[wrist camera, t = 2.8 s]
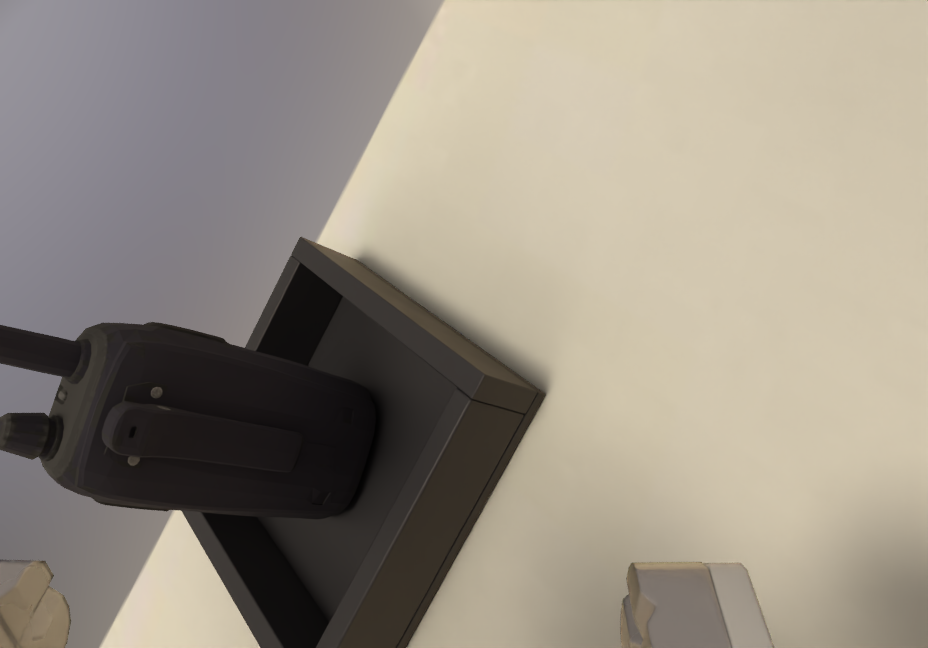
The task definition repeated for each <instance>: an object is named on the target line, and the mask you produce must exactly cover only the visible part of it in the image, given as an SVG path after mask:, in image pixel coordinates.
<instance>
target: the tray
mask: <svg viewBox="0 0 928 648" xmlns="http://www.w3.org/2000/svg"><path fill="white" fill-rule="evenodd" d="M245 348H246V349H250V350H253V351H257V352H261V353H264V354H268V355H272V356H276V357H279V358H283V359H286V360H290V361H293V362H297V363H300V364H303V365H306V366H308V367H311V368H314V369H317V370H320V371H323V372H326V373H329V374H332V375H335V376H339V377H343V378H346V379H349V380H352V381H354V382H356V383H358V384H360V385H362V386H363V387H365V388H366V389H367V390H368V392H369V394H370V397H371V399H372V402H373V403H374V404H375V411H376V424H375V432H374V436H373V440H372V444H371V448H370V451H369V454H368V458H367V461H366V464H365V467H364V470H363V473H362V476H361V479H360V481H359V484H358V487H357V489H356V492H355V494H354V496H353V498H352V500H351V501H350V503H349V505H348V506H347V507H346V508H345V509H344V510H343V511H342V512H341V513H339V514H334V515H332V516H330V517H327V518H324V519H305V518H285V517H253V516H240V515H228V514H217V513H206V512H195V511H183V510H181V511H182V512H183V514H184V516H185V518H186V519H187V521H188V523H189V525H190V526H191V528H192V530H193V531H194V533H195V535H196V537H197V538H198V540H199V542H200V544H201V545H202V547H203V549H204V550H205V552H206V554H207V556H208V557H209V559H210V561H211V563H212V564H213V566H214V568H215V569H216V571H217V573H218V575H219V576H220V578H221V580H222V582H223V583H224V585H225V587H226V588H227V590H228V592H229V594H230V595H231V597H232V599H233V601H234V602H235V604H236V606H237V608H238V609H239V611H240V613H241V614H242V616H243V618H244V620H245V621H246V623H247V625H248V627H249V628H250V630H251V632H252V633H253V635H254V637H255V639H256V640H257V642H258V644H259V646H260V647H261V648H405V647H406V645H407V644H408V642H409V640H410V638H411V636H412V634H413V633H414V631H415V629H416V627H417V625H418V624H419V622H420V620H421V618H422V616H423V615H424V613H425V611H426V609H427V607H428V606H429V604H430V602H431V600H432V598H433V597H434V595H435V593H436V591H437V589H438V588H439V586H440V584H441V582H442V580H443V579H444V577H445V575H446V573H447V571H448V570H449V568H450V566H451V564H452V562H453V561H454V559H455V557H456V555H457V553H458V551H459V550H460V548H461V546H462V544H463V542H464V541H465V539H466V537H467V535H468V533H469V532H470V530H471V528H472V526H473V524H474V523H475V521H476V519H477V517H478V515H479V514H480V512H481V510H482V508H483V506H484V505H485V503H486V501H487V499H488V497H489V496H490V494H491V492H492V490H493V488H494V487H495V485H496V483H497V481H498V479H499V478H500V476H501V474H502V472H503V470H504V468H505V467H506V465H507V463H508V461H509V459H510V458H511V456H512V454H513V452H514V450H515V449H516V447H517V445H518V443H519V441H520V440H521V438H522V436H523V434H524V432H525V431H526V429H527V427H528V425H529V423H530V422H531V420H532V418H533V416H534V414H535V413H536V411H537V409H538V407H539V405H540V404H541V402H542V400H543V398H544V396H545V394H544V393H543V392H542V391H540V390H539V389H538V388H536V387H535V386H533V385H532V384H530V383H529V382H528V381H526V380H525V379H523V378H522V377H521V376H519V375H518V374H516V373H515V372H514V371H512V370H511V369H509V368H508V367H507V366H505V365H504V364H502V363H501V362H500V361H498V360H497V359H495V358H494V357H493V356H491V355H490V354H488V353H487V352H485V351H484V350H483V349H481V348H480V347H478V346H477V345H476V344H474V343H473V342H471V341H470V340H469V339H467V338H466V337H464V336H463V335H462V334H460V333H459V332H457V331H456V330H455V329H453V328H452V327H450V326H449V325H448V324H446V323H445V322H443V321H442V320H440V319H439V318H438V317H436V316H435V315H433V314H432V313H431V312H429V311H428V310H426V309H425V308H424V307H422V306H421V305H419V304H418V303H417V302H415V301H414V300H412V299H411V298H410V297H408V296H407V295H405V294H404V293H403V292H401V291H400V290H398V289H397V288H395V287H394V286H393V285H391V284H390V283H388V282H387V281H386V280H384V279H383V278H381V277H380V276H379V275H377V274H376V273H374V272H373V271H372V270H370V269H369V268H367V267H366V266H365V265H363V264H362V263H360V262H359V261H358V260H356V259H353V258H350V257H348V256H346V255H343V254H341V253H339V252H336V251H334V250H331V249H329V248H327V247H324V246H322V245H319V244H317V243H314V242H312V241H310V240H307V239H305V238H302V237H300V238H299V240H298V242H297V244H296V246H295V248H294V250H293V252H292V256H291V257H290V258H289V260H288V262H287V264H286V266H285V268H284V270H283V272H282V274H281V276H280V278H279V280H278V283H277V284H276V287H275V288H274V291H273V292H272V295H271V296H270V298H269V300H268V303H267V304H266V306H265V309H264V310H263V313H262V315H261V317H260V319H259V321H258V323H257V325H256V327H255V329H254V331H253V333H252V335H251V337H250V339H249V341H248V343H247V345H246V347H245Z"/></svg>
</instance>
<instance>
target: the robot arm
mask: <svg viewBox="0 0 928 648" xmlns="http://www.w3.org/2000/svg"><path fill="white" fill-rule="evenodd" d="M53 576H54V575H53V573H52V572H51V570H50V568H49V567H48V565H47V563H46V562H45V561H31V560H0V648H65V646H66V644H67V640H68V635H69V629H70V624H71V619H70V610H69V605H68V603H67V601H66V599H65V597H64V595H62V594H61V593H59V592H58V591H56V590H54V589H53V588H51V587H50V586H49V584H50V582H51V580H52V578H53ZM627 585H628V591H629V595H627V596H626V597H625V598H623V601H622V608H621V633H620V634H621V643H622V648H774V645H773V642H772V639H771V636H770V633H769V631H768V628H767V625H766V622H765V619H764V616H763V613H762V611H761V608H760V605H759V602H758V599H757V596H756V594H755V591H754V588H753V585H752V582H751V579H750V576H749V574H748V571H747V569H746V568H745V567H744V566H743V565H742V564H741V563H702V562H649V563H631V565H630V566H629V568H628V573H627Z"/></svg>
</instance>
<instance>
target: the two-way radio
mask: <svg viewBox="0 0 928 648" xmlns="http://www.w3.org/2000/svg"><path fill="white" fill-rule="evenodd" d="M0 363H1V364H6V365H11V366H15V367H19V368H24V369H29V370H33V371H38V372H42V373H47V374H52V375H57V376H62V380H61V383H60V386H59V388H58V391H57V394H56V397H55V400H54V403H53V406H52V408H51V411H50V414H49V417H48V416H47V415H46V414H45V413H7V414H5V415H3V416H2V417H0V450H3V451H6V452H9V453H13V454H16V455H19V456H22V457H26V458H29V459H35V458H36V457H38V456H39V458H40V459H41V462H42V465H43V467H44V468H45V470H46V471H47V473H48V474H49V475H50V476H51V477H52V478H53V479H54V480H55V481H56V482H57V483H58V484H60V485H61V486H63V487H64V488H66V489H69V490H71V491H73V492H75V493H78V494H80V495H84V496H88V497H91V498H93V499H94V500H95V501H96V502H98V503H100V504H104V505H110V506H119V507H127V508H136V509H147V510H162V511H168V510H183V511H195V512H206V513H217V514H228V515H240V516H253V517H285V518H305V519H324V518H327V517H330V516H332V515H334V514H339V513H341V512H342V511H343V510H344V509H345V508H346V507H347V506H348V505H349V503H350V501H351V500H352V498H353V496H354V494H355V492H356V489H357V487H358V484H359V481H360V479H361V476H362V473H363V470H364V467H365V464H366V461H367V458H368V454H369V451H370V448H371V444H372V440H373V436H374V432H375V424H376V411H375V404H374V403H373V402H372V399H371V397H370V394H369V392H368V390H367V389H366V388H365V387H363V386H362V385H360V384H358V383H356V382H354V381H352V380H349V379H346V378H343V377H339V376H335V375H332V374H329V373H326V372H323V371H320V370H317V369H314V368H311V367H308V366H306V365H303V364H300V363H297V362H293V361H290V360H286V359H283V358H279V357H276V356H272V355H268V354H264V353H261V352H257V351H253V350H250V349H246V348H242V347H239V346H235V345H231V344H229V343H227V342H226V341H225V340H224V339H223V338H220V337H217V336H213V335H209V334H205V333H201V332H198V331H194V330H190V329H185V328H181V327H177V326H172V325H167V324H162V323H155V322H151V323H147V324H144V325H139V324H124V323H101V324H98V325H95V326H92V327H89V328H86V329H85V330H84V331H83V333H82V334H81V335H80V336H79V337H78V338H77V340H76V341H70V340H67V339H62V338H58V337H53V336H49V335H44V334H40V333H34V332H30V331H26V330H21V329H16V328H12V327H7V326H3V325H0Z"/></svg>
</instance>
